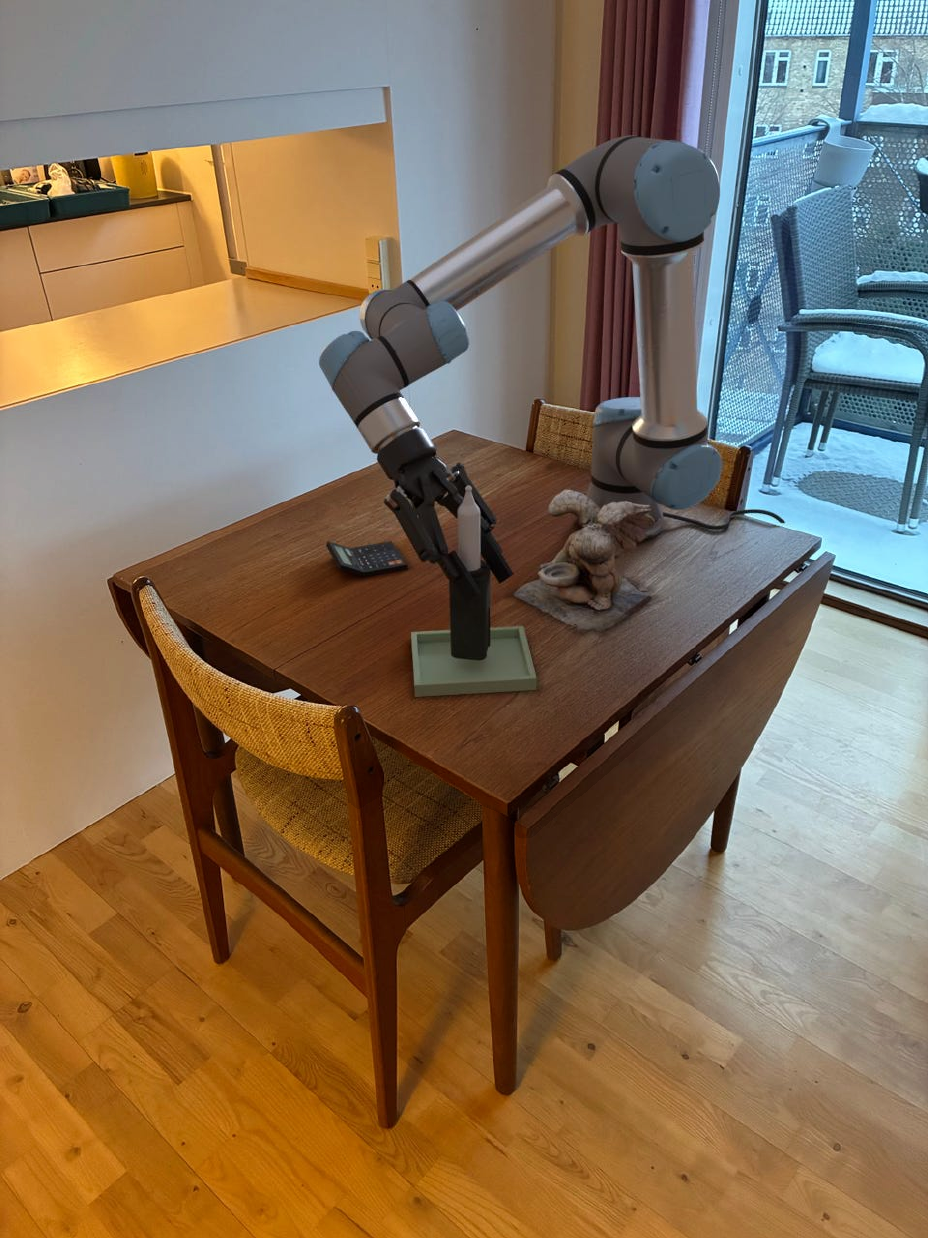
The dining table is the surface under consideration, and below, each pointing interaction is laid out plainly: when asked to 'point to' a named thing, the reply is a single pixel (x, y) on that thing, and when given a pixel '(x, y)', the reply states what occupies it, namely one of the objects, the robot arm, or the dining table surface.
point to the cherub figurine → (591, 564)
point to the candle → (475, 614)
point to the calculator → (367, 558)
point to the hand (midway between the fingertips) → (490, 587)
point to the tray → (472, 664)
